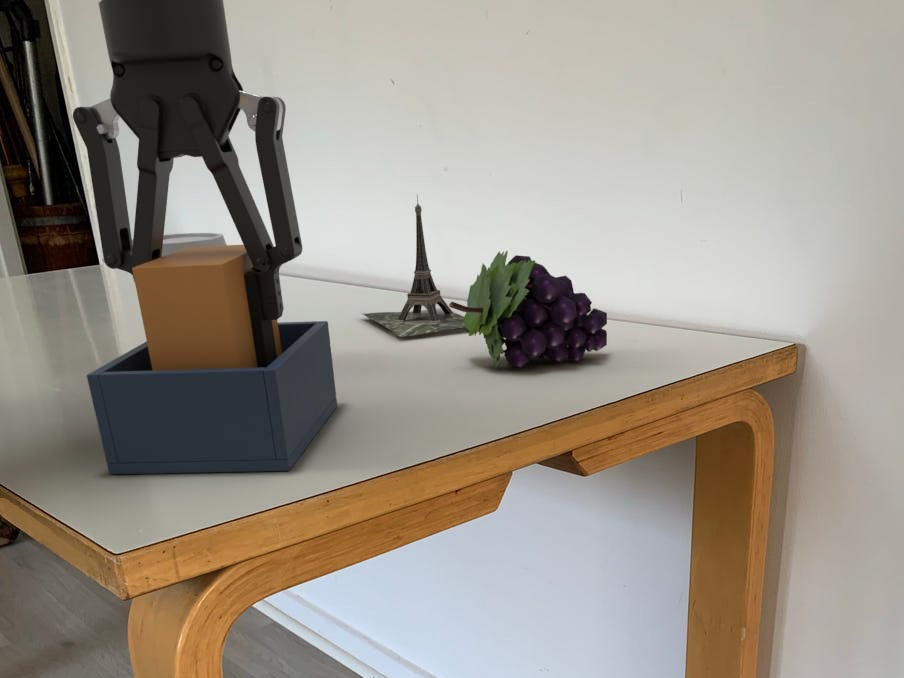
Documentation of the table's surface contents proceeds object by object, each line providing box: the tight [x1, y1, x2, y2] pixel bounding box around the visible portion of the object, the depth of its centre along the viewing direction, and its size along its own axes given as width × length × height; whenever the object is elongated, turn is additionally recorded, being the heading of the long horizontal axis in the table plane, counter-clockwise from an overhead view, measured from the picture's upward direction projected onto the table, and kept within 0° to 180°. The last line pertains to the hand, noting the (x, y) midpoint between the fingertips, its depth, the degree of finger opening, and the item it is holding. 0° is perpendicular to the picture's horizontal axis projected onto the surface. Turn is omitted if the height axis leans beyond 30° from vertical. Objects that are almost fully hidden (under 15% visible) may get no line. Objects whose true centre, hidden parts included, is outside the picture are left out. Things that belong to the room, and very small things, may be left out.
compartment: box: [86, 320, 338, 475], centre depth 73 cm, size 13×17×7 cm
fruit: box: [448, 250, 608, 369], centre depth 90 cm, size 10×11×15 cm
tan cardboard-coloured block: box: [132, 244, 282, 371], centre depth 70 cm, size 6×11×8 cm, turn 176°
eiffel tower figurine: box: [362, 194, 465, 338], centre depth 108 cm, size 15×10×13 cm
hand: (223, 367), depth 72 cm, fingers closed on tan cardboard-coloured block, 6 cm apart
